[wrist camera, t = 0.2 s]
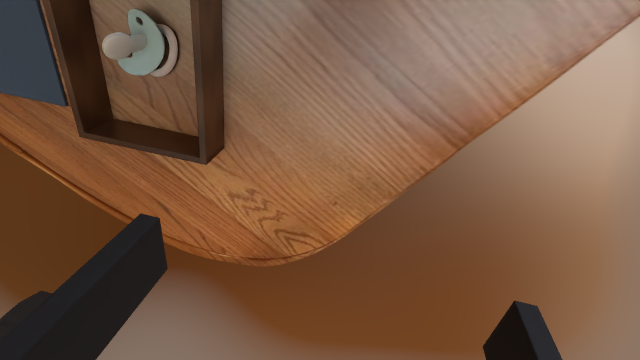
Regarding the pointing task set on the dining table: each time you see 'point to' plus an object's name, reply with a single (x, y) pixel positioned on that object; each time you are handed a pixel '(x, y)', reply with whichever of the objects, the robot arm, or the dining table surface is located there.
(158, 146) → the open box
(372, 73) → the dining table surface
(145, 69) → the pacifier
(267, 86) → the dining table surface
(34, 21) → the mat
